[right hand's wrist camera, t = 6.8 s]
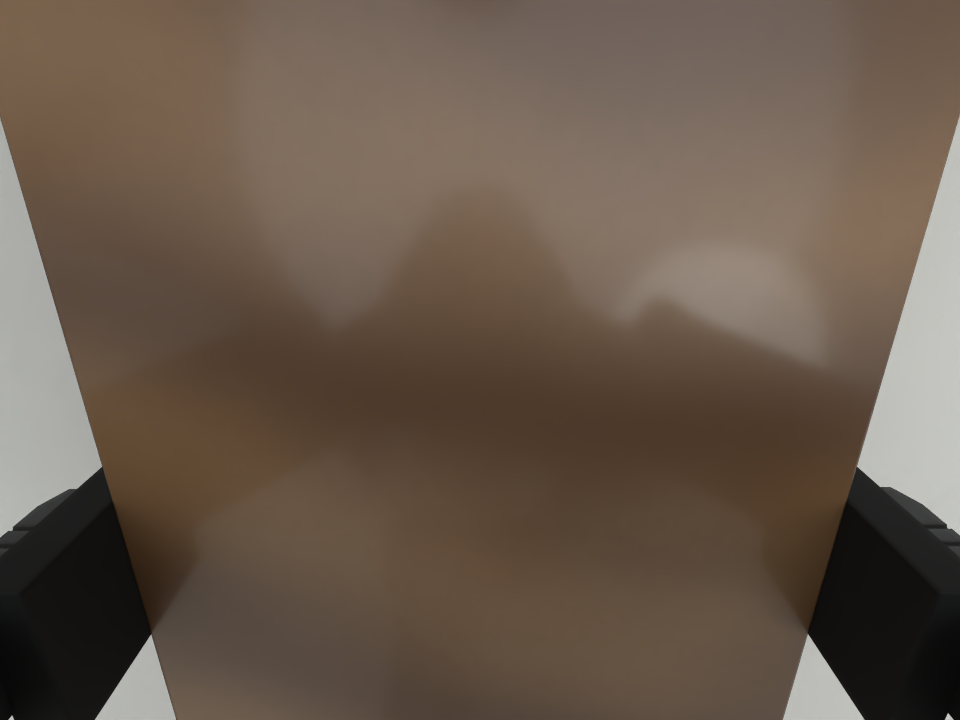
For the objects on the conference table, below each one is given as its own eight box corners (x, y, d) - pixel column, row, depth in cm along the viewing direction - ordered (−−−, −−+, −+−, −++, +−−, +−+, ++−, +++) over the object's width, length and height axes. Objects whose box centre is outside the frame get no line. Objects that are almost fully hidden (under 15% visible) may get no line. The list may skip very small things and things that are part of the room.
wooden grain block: (238, -86, 13) (-174, -465, 5) (720, -85, 13) (1133, -467, 5) (311, 473, 19) (179, 736, 10) (648, 473, 19) (779, 736, 10)
